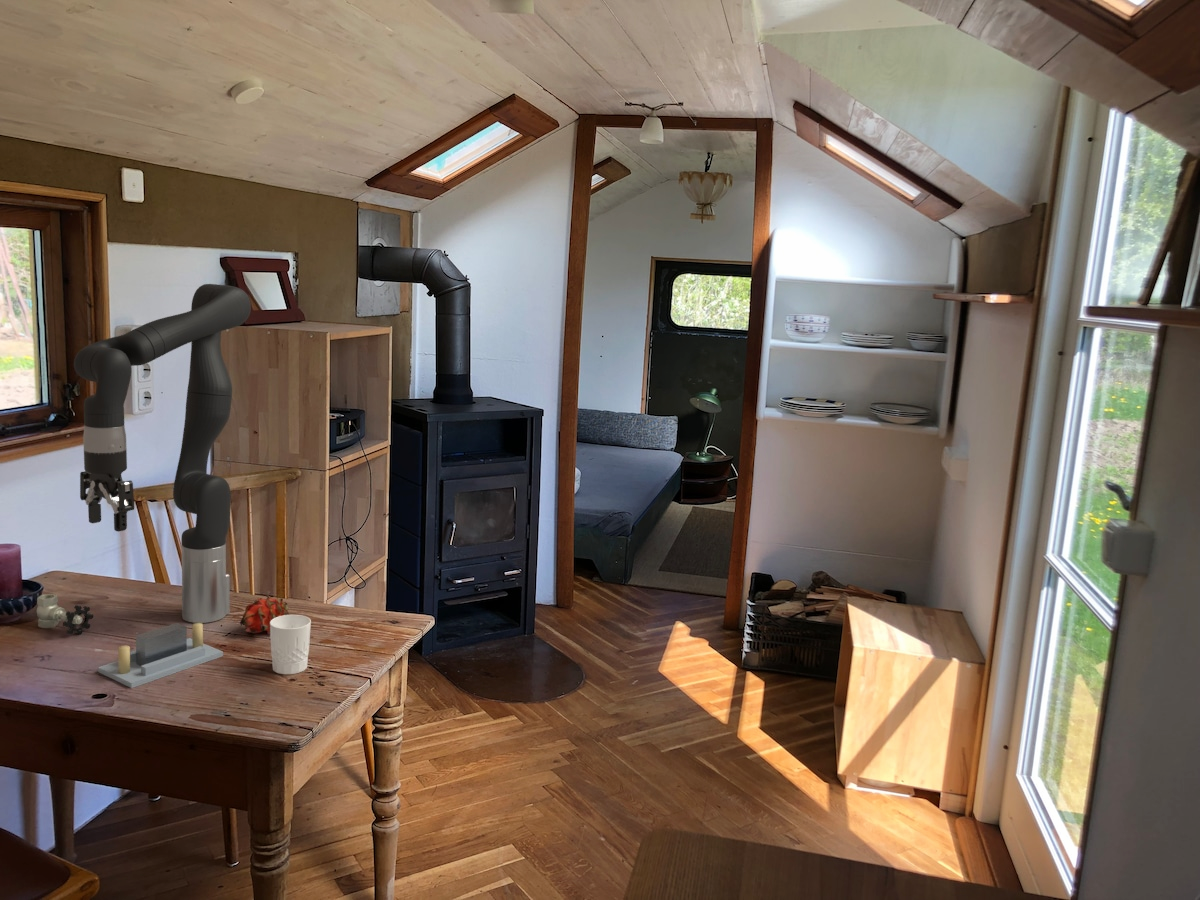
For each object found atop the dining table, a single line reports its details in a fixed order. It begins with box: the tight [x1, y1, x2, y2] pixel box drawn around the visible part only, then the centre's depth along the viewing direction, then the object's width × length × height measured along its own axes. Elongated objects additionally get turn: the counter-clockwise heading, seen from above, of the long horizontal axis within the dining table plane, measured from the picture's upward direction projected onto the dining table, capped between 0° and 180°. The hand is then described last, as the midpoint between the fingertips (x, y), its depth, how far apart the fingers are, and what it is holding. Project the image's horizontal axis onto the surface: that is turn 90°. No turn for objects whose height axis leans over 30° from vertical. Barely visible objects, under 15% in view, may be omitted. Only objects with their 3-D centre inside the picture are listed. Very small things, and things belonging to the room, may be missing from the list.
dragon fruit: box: [239, 595, 290, 635], centre depth 208 cm, size 8×8×12 cm
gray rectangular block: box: [135, 622, 188, 666], centre depth 188 cm, size 9×3×6 cm, turn 148°
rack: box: [97, 623, 224, 689], centre depth 188 cm, size 20×11×6 cm, turn 148°
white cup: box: [269, 614, 312, 675], centre depth 190 cm, size 8×8×10 cm
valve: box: [36, 593, 95, 636], centre depth 201 cm, size 7×7×12 cm
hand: (107, 526), depth 189 cm, fingers open, 8 cm apart
